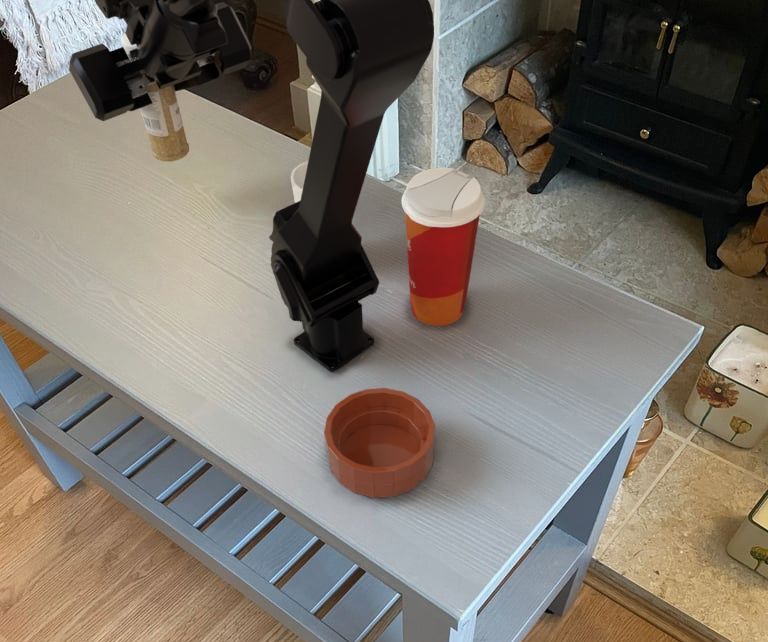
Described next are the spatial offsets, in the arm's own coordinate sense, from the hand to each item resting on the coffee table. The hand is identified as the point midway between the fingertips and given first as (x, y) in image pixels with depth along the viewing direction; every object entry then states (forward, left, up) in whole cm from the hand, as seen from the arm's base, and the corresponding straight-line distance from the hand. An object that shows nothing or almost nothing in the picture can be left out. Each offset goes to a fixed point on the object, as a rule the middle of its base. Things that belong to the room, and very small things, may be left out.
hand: (152, 94), depth 92 cm
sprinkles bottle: (-1, 0, -7) cm, 7 cm away
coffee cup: (-38, -8, -13) cm, 41 cm away
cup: (-23, -5, -13) cm, 27 cm away
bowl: (-49, +11, -13) cm, 52 cm away
